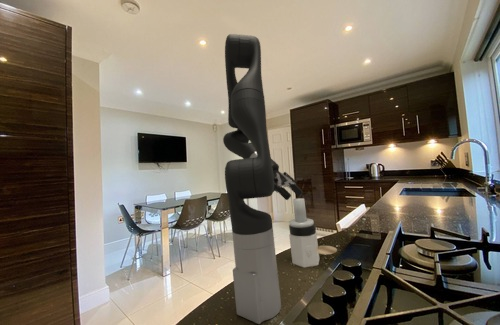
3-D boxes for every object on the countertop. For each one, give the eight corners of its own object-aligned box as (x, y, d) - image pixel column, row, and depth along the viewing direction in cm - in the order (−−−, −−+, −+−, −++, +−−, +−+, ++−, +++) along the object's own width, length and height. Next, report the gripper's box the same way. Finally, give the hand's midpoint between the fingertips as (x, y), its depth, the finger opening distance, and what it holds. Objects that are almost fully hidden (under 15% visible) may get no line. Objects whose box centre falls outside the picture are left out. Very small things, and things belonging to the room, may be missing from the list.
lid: (308, 229, 61) (304, 201, 61) (285, 227, 66) (282, 201, 66) (317, 222, 67) (314, 197, 67) (296, 221, 72) (293, 197, 72)
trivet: (333, 257, 67) (332, 255, 67) (309, 253, 72) (309, 252, 72) (340, 248, 74) (339, 247, 74) (317, 245, 78) (317, 244, 79)
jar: (297, 270, 61) (292, 229, 62) (288, 259, 69) (284, 223, 70) (325, 265, 62) (320, 225, 63) (314, 255, 70) (309, 219, 71)
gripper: (256, 156, 68) (291, 190, 60) (278, 156, 79) (310, 185, 72) (245, 174, 71) (278, 208, 63) (268, 172, 82) (298, 200, 75)
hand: (295, 196), depth 68 cm, fingers open, 8 cm apart
